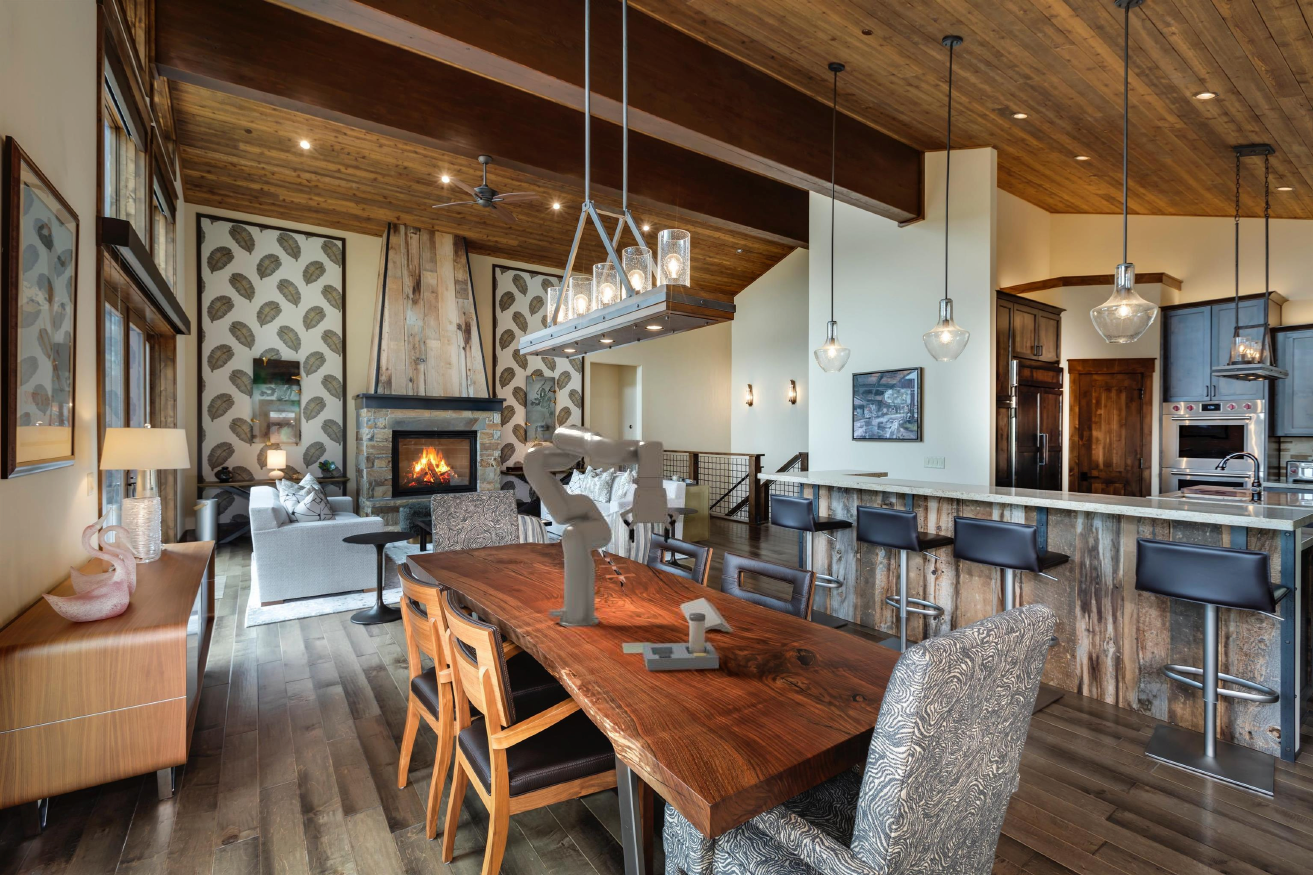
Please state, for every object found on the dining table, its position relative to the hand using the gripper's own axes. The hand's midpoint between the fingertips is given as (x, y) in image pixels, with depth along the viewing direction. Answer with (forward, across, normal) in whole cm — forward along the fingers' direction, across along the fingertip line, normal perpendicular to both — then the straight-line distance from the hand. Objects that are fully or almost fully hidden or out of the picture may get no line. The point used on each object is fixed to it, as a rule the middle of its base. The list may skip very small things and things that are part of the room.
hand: (649, 542), depth 181 cm
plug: (+28, +10, -21) cm, 37 cm away
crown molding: (+29, +21, +20) cm, 41 cm away
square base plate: (+28, -4, -10) cm, 30 cm away
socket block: (+28, +6, -21) cm, 36 cm away
